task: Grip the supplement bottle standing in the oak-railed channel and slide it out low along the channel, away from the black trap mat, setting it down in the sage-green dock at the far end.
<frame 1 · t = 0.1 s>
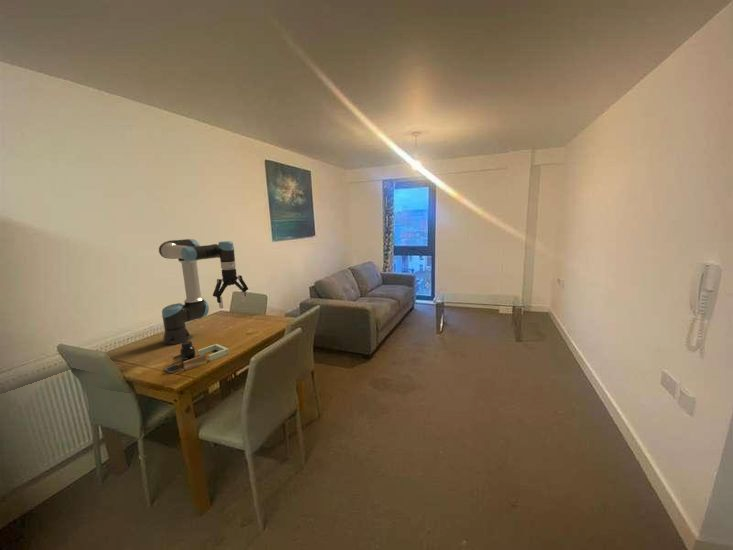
hand: (232, 305, 176), 28 cm above the table, fingers open, 13 cm apart
supplement bottle: (189, 363, 166), on the table
channel: (190, 363, 166), on the table
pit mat: (173, 369, 160), on the table
dock: (212, 354, 176), on the table
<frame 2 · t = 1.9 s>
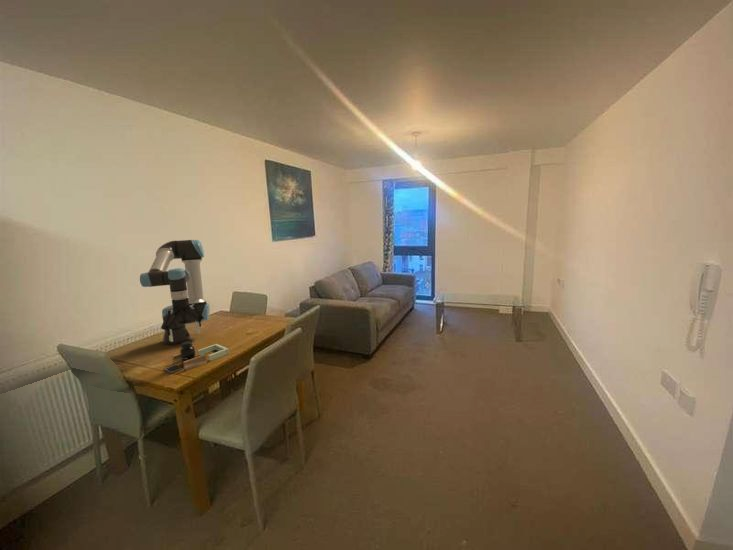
hand: (185, 336, 163), 15 cm above the table, fingers open, 13 cm apart
nothing on the table moved.
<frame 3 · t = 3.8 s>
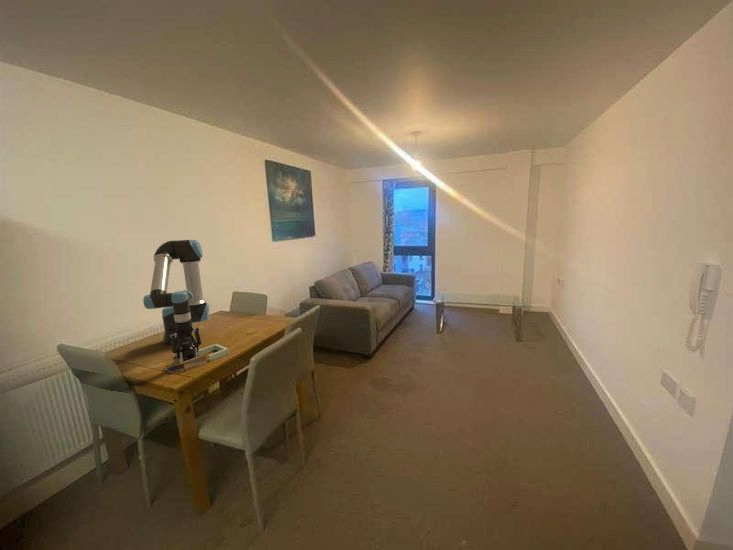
hand: (188, 360, 166), 2 cm above the table, fingers closed on supplement bottle, 7 cm apart
supplement bottle: (189, 363, 166), on the table, touching gripper
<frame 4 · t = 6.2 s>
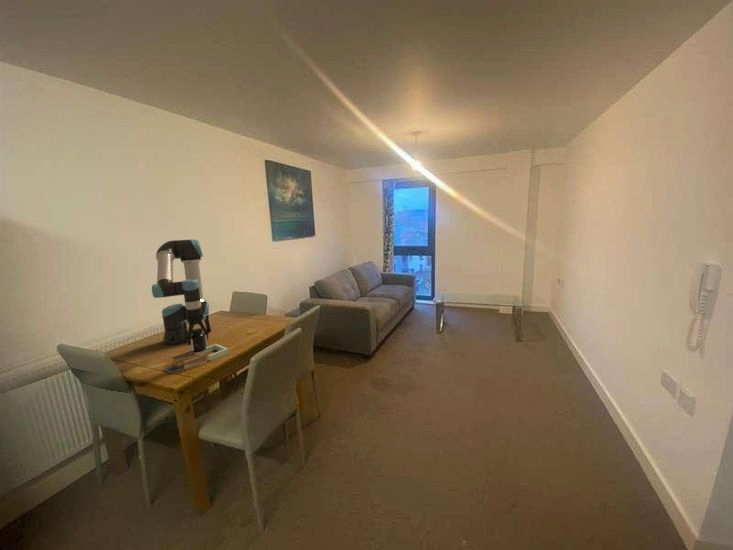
hand: (199, 347, 170), 7 cm above the table, fingers closed on supplement bottle, 7 cm apart
supplement bottle: (199, 350, 170), point 5 cm above the table, touching gripper
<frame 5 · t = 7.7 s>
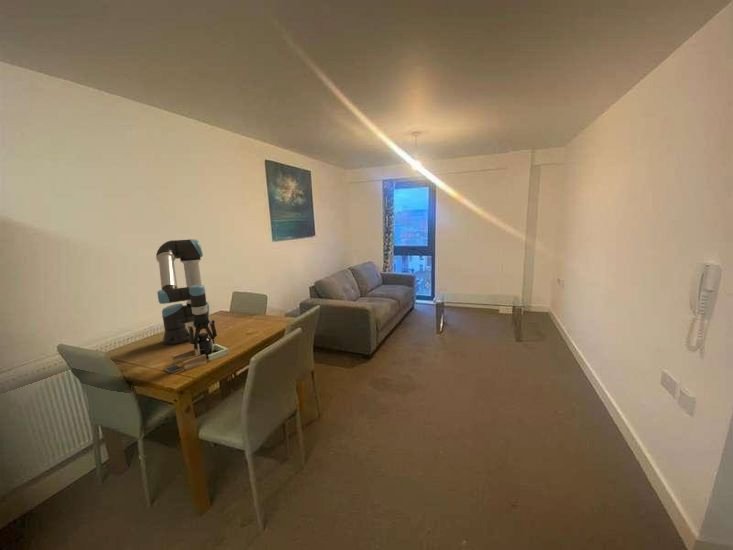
hand: (205, 351, 172), 3 cm above the table, fingers closed on supplement bottle, 7 cm apart
supplement bottle: (205, 354, 173), point 2 cm above the table, touching gripper
when the fingers open (2 cm above the table, at t = 8.7 s): supplement bottle stays where it is, on the table.
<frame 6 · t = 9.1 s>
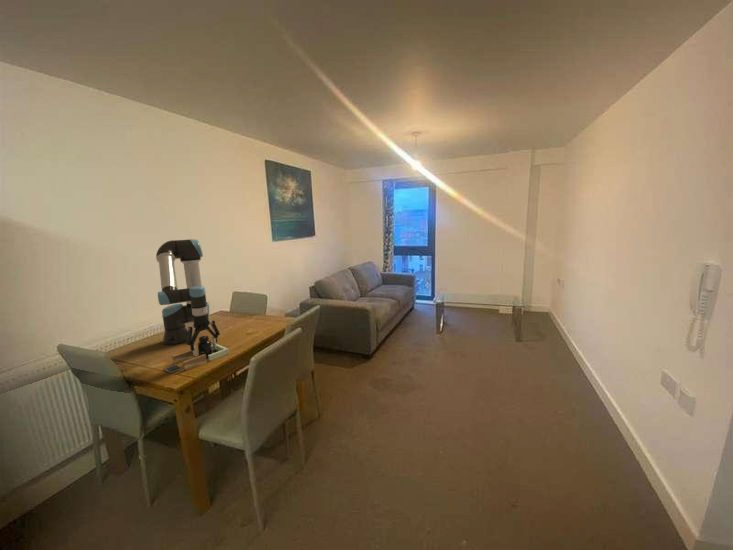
hand: (205, 351, 172), 3 cm above the table, fingers open, 10 cm apart
supplement bottle: (206, 357, 173), on the table
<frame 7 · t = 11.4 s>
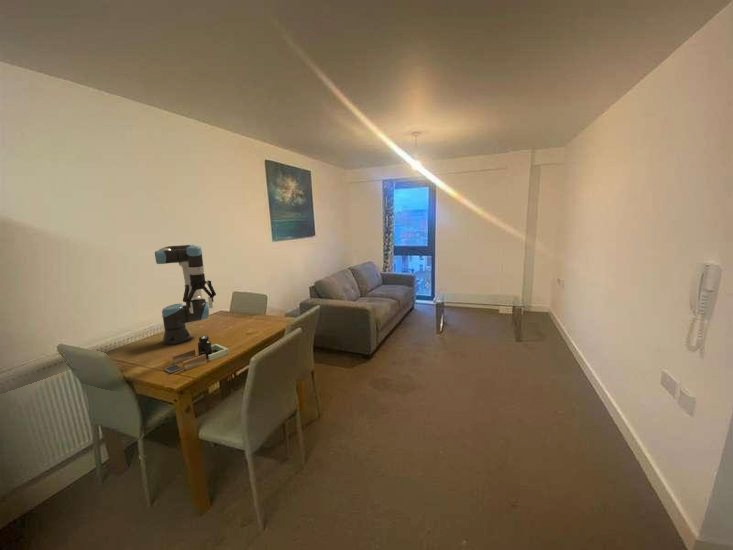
hand: (201, 310, 179), 25 cm above the table, fingers open, 10 cm apart
nothing on the table moved.
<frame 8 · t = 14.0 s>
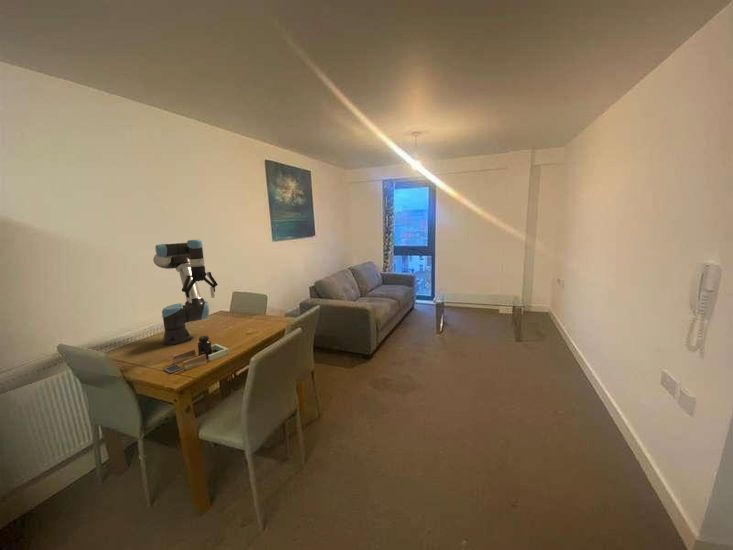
hand: (202, 300, 186), 29 cm above the table, fingers open, 13 cm apart
nothing on the table moved.
at the end: supplement bottle inside the target area (1.4 cm from its centre), on the table; supplement bottle tilted 0°; the gripper is holding nothing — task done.
